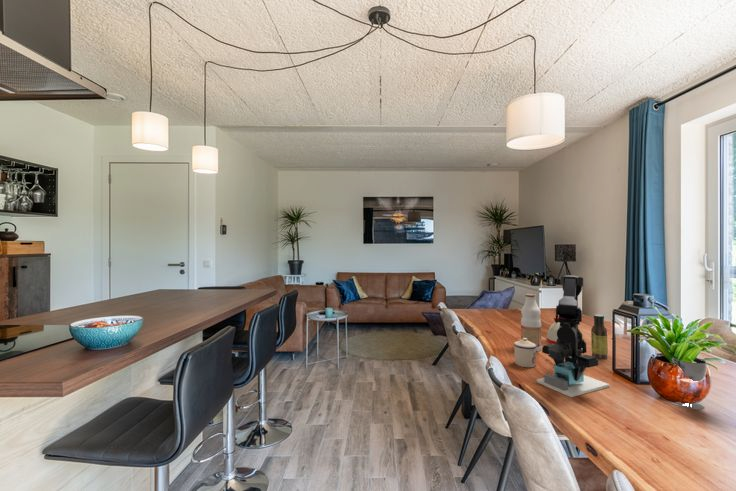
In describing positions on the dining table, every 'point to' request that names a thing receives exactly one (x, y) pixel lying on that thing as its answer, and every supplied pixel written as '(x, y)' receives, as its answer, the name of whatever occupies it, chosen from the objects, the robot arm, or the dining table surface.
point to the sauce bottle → (599, 338)
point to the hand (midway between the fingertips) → (568, 377)
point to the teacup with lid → (525, 353)
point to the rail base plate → (573, 389)
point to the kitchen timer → (553, 332)
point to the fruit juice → (531, 321)
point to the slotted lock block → (567, 372)
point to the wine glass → (692, 376)
